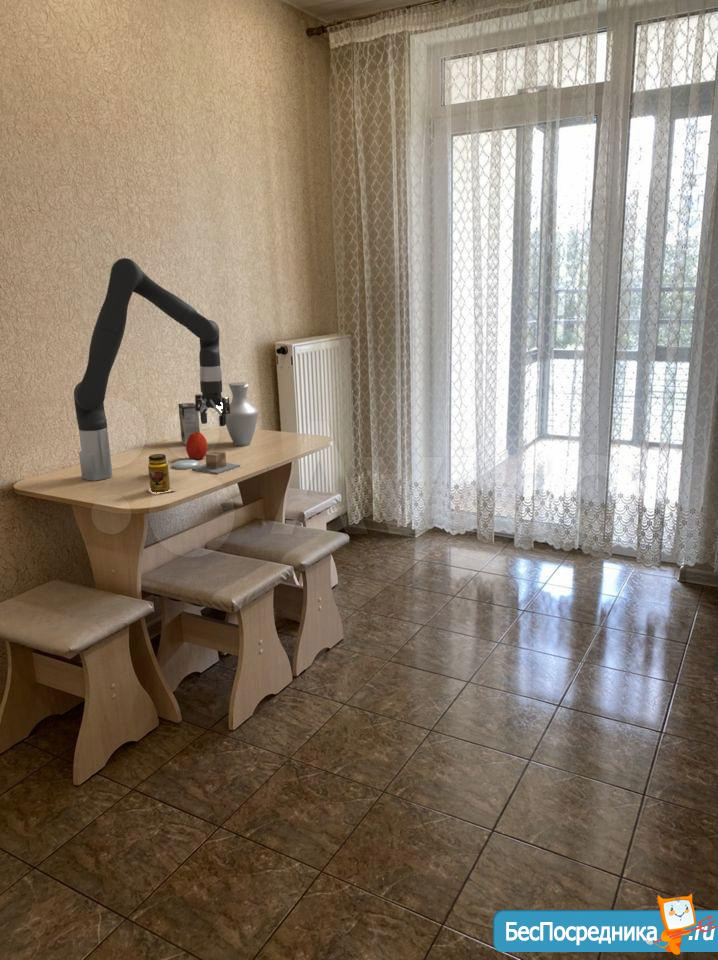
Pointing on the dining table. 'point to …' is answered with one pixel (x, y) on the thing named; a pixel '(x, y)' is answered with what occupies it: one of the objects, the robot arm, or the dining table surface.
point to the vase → (241, 415)
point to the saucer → (186, 464)
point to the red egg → (196, 446)
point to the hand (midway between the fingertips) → (213, 424)
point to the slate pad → (217, 471)
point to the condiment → (158, 473)
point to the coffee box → (188, 420)
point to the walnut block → (215, 459)
